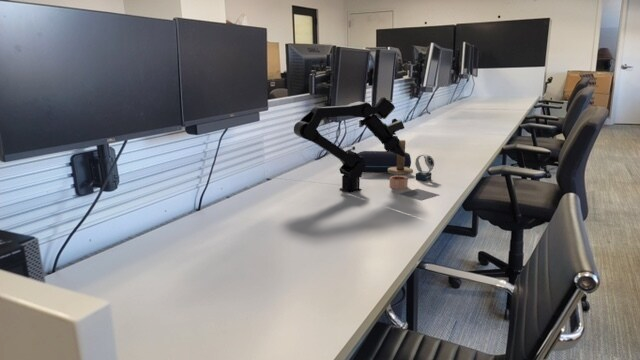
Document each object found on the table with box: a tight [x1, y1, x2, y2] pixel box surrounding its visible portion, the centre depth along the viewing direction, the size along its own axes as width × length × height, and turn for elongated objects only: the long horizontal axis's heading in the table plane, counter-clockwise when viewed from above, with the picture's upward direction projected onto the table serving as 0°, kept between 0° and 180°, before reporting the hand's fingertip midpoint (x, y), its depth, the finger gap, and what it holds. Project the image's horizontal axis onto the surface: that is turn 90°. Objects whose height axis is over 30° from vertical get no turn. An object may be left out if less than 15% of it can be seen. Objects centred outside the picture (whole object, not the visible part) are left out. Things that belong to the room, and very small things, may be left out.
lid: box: [388, 139, 414, 176], centre depth 179 cm, size 10×10×12 cm
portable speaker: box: [356, 150, 412, 174], centre depth 205 cm, size 25×10×10 cm, turn 85°
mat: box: [398, 188, 440, 202], centre depth 172 cm, size 11×11×1 cm
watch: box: [414, 153, 435, 182], centre depth 192 cm, size 6×8×11 cm
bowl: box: [388, 175, 409, 190], centre depth 182 cm, size 7×7×4 cm
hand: (404, 155), depth 178 cm, fingers closed on lid, 3 cm apart
